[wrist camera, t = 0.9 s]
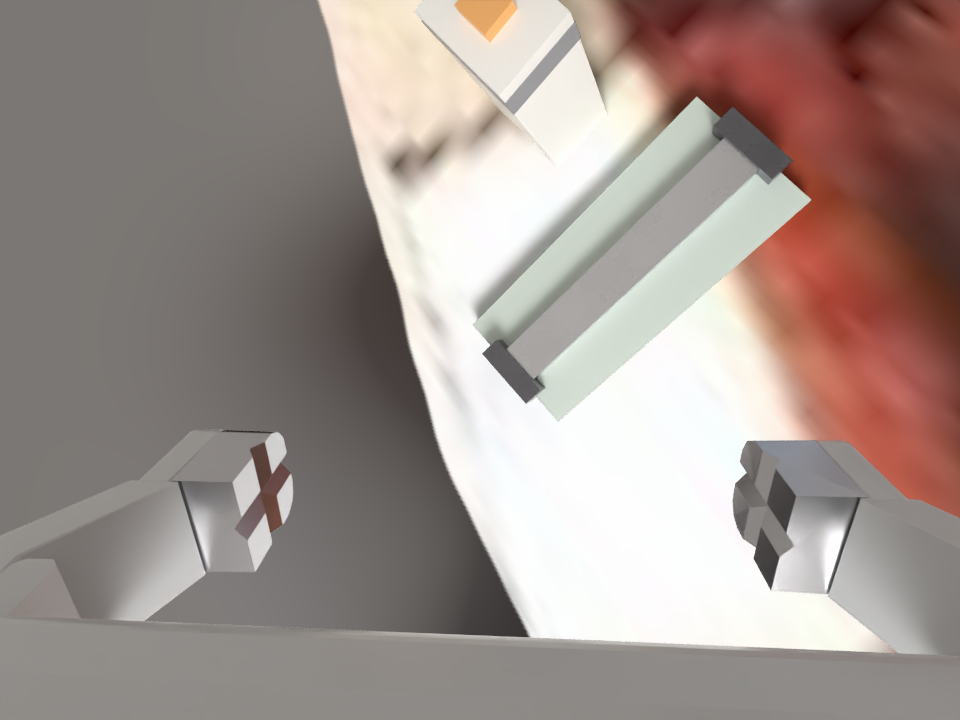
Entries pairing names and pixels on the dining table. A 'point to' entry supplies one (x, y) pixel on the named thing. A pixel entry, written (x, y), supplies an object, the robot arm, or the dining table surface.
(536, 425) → the dining table surface
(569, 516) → the dining table surface
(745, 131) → the rail
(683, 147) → the mounting board
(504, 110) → the block
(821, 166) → the dining table surface
